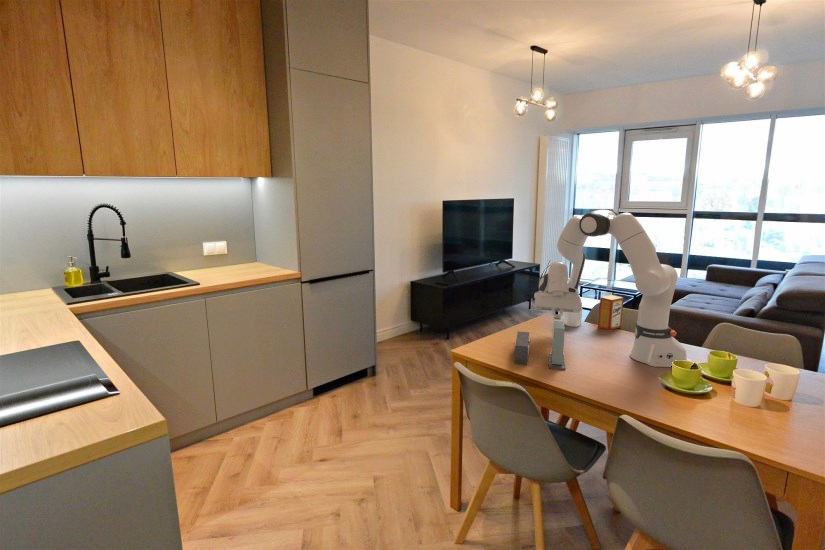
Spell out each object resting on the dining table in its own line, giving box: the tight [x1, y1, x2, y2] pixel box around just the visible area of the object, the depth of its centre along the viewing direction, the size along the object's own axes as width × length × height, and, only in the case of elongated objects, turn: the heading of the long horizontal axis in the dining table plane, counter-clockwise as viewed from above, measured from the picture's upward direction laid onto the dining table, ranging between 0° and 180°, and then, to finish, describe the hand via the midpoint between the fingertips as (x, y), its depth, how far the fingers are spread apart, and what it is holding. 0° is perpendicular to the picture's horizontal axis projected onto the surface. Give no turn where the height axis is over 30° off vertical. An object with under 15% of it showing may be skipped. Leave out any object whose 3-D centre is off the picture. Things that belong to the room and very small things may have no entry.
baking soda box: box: [597, 294, 624, 331], centre depth 222 cm, size 10×6×16 cm
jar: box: [562, 301, 583, 328], centre depth 228 cm, size 9×8×12 cm
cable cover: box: [551, 320, 566, 365], centre depth 178 cm, size 4×10×15 cm, turn 164°
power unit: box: [514, 331, 531, 366], centre depth 186 cm, size 5×18×8 cm, turn 164°
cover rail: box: [548, 353, 566, 371], centre depth 180 cm, size 6×14×1 cm, turn 164°
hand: (557, 318), depth 195 cm, fingers closed
